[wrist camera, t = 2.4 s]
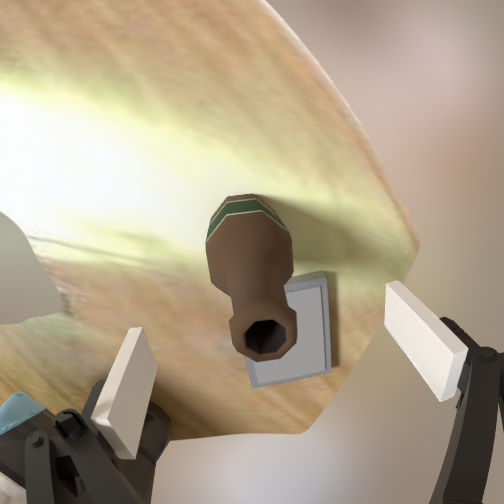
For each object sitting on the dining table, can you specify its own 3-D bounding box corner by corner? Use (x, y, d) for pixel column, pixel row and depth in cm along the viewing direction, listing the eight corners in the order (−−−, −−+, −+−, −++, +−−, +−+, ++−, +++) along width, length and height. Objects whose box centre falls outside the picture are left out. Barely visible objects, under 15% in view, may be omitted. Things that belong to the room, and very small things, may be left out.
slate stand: (251, 379, 46) (252, 389, 44) (230, 287, 41) (231, 295, 39) (327, 364, 46) (331, 373, 44) (322, 270, 41) (327, 277, 39)
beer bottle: (220, 183, 36) (207, 248, 14) (283, 201, 38) (364, 287, 15) (203, 245, 39) (176, 380, 16) (264, 260, 40) (308, 400, 17)
